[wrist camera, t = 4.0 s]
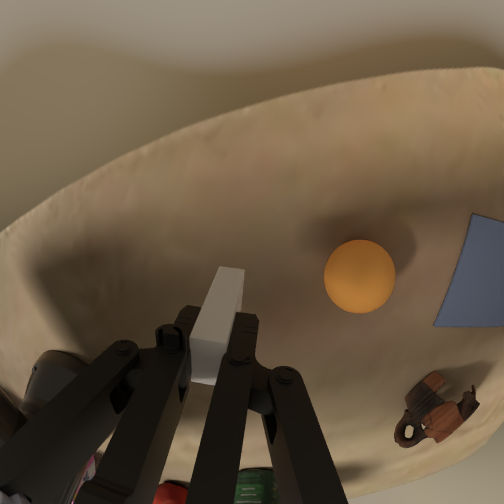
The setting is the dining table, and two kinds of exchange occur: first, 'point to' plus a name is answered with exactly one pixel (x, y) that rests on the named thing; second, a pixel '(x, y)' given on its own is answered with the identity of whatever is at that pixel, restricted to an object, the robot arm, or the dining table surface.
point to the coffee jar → (256, 487)
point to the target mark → (477, 279)
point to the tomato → (170, 494)
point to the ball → (359, 276)
